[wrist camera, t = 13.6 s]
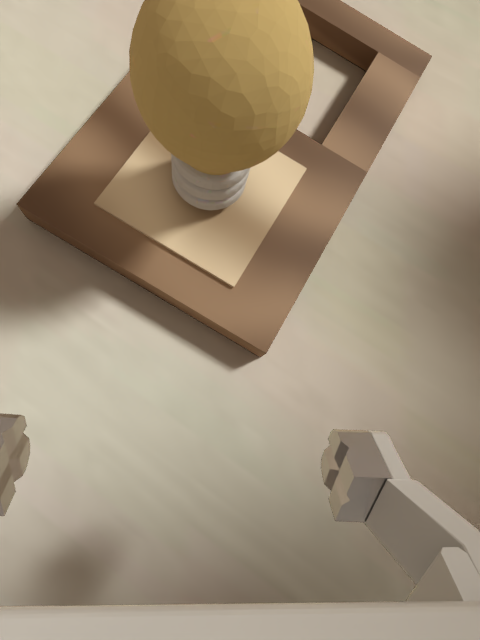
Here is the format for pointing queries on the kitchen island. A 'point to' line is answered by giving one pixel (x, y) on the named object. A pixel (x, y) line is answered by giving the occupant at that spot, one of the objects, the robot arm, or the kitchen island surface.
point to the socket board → (243, 215)
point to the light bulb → (220, 87)
